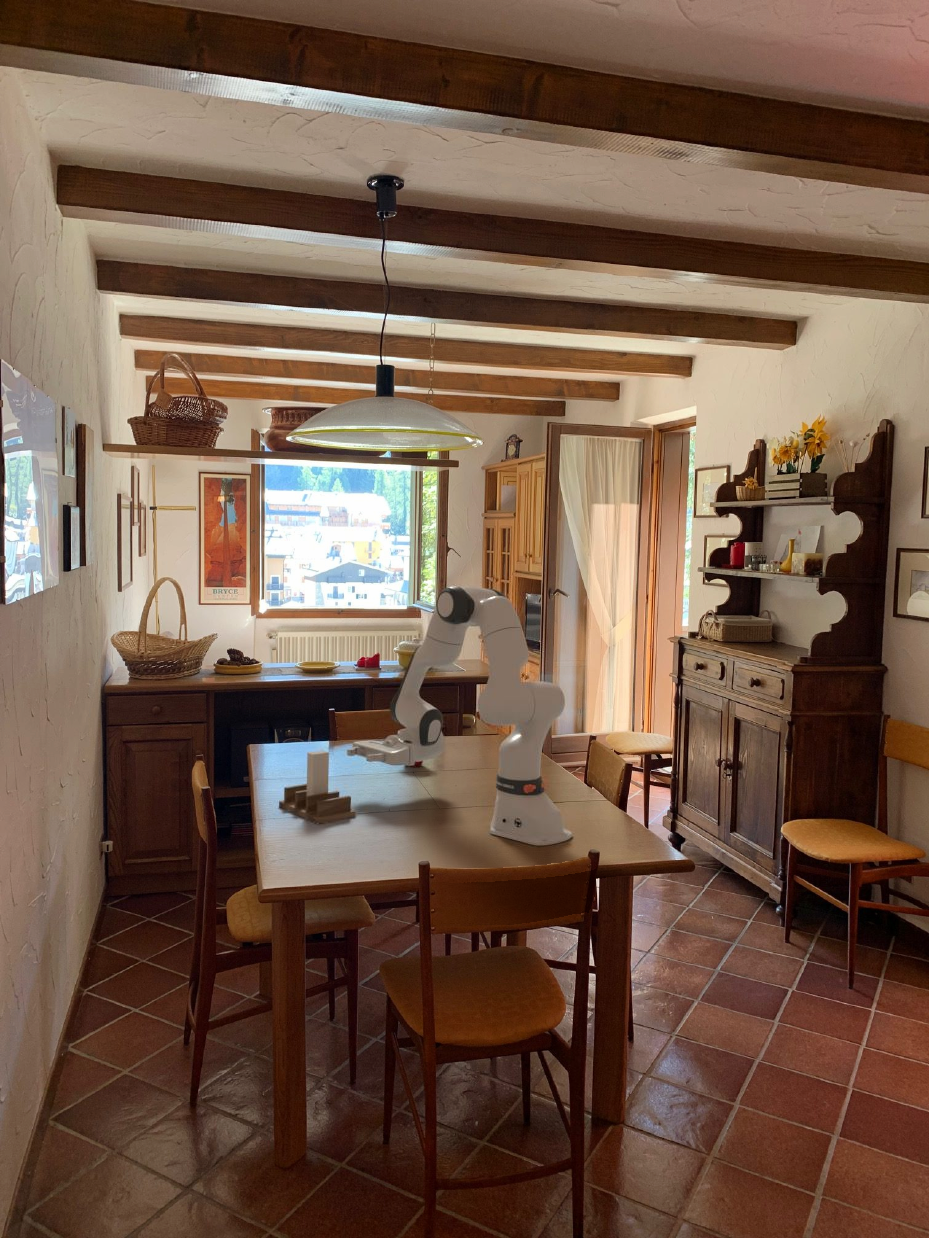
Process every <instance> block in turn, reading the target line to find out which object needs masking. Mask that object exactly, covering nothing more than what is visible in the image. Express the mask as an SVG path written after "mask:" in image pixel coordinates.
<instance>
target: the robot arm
mask: <svg viewBox="0 0 929 1238" xmlns="http://www.w3.org/2000/svg"><path fill="white" fill-rule="evenodd" d="M435 606H436V607H435V609H434V611H433V613H432V615H431V618H430V620H429V622H428V623H429V624H428V626H427V630H426V634H425V637H424V640H423V641H422V643H421V645H419V646H418V647H416V648H415V650H414V652H413V653H412V656H411V657H410V660H409V662H408V665H407V667H406V670H405V673H404V676H403V678H402V680H401V683H400V686H399V687H398V689H397V692H396V693H395V694H394V697H393V698H392V701H391V702H390V706H389V713H390V717H391V719H392V720H393V721H394V722H396V723H397V724H400V725H402V726H404V727H405V729H406V728H408V731H407V733H404V734H398V733H397V734H392V735H388V736H387V737H386V738H385V739H384V741H383V742H381V741H378V740H359V741H354V742H352V748H349V749H347V750H346V756H348V757H354V756H358V757H362V758H364V759H365V758H366V759H365V760H366V761H367V762H369V763H373V762H376V763H377V762H378V763H383V764H386V765H391V766H394V767H395V766H405V765H407V766H406V767H408V766H413V765H415V761H416V762H419V761H423V762H424V761H428V760H431V759H435V758H437V757H438V756H441V754H442V753H443V752H444V750H445V748H446V747H445V746H446V738H445V736H444V734H443V732H442V729H443V724H444V717H443V714H442V712H441V710H439V709H438V708H437V707H435V706H433V705H432V704H431V703H428V702H427V701H425V700H424V699H423V698H421V696H420V689H421V686H422V684H423V682H424V679H425V676H426V675H427V672H428V670H429V669H431V668H444V667H448V666H450V665H452V664H454V663H455V662H456V661H458V660H459V659H458V658H460V655H461V652H462V649H463V646H464V641H465V637H466V633H467V630H468V628H469V627H479V630H480V632H481V636H482V641H483V644H484V648H485V653H486V657H487V661H488V669H489V673H488V674H489V675H488V678H487V679H488V680H487V682H486V685H485V686H484V688H483V689H482V691H481V692H480V693H479V696H478V699H477V710H478V714H479V717H480V719H481V720H483V722H484V723H486V724H489V725H493V726H501V727H508V726H514V728H513V729H512V731H511V733H510V734H509V735H508V737H506V738H505V739H504V740H503V741H502V742H501V743H500V746H499V750H498V751H499V752H498V753H499V754H498V772H497V774H496V778H495V779H496V780H495V788H496V789H497V791H496V797H495V802H494V808H493V814H492V819H491V822H490V825H489V827H490V829H489V833H490V834H491V835H494V836H499V837H502V838H505V839H510V840H514V841H516V842H517V841H518V842H521V843H525V844H528V845H532V846H549V845H554V844H560V843H562V842H565V841H568V840H570V839H571V838H572V837H573V832H572V831H570V830H568V829H566V828H564V818H563V813H562V812H561V810H560V809H559V808H558V807H557V806H556V804H555V803H554V802H553V800H551V799H550V797H549V795H548V794H546V793H545V790H546V789H545V788H546V787H548V785H547V784H548V782H547V781H546V782H543V778H542V776H541V764H542V762H541V761H542V760H541V759H542V753H543V751H542V750H543V746H544V743H545V739H546V738H547V737H546V736H547V735H548V732H549V730H550V728H551V726H552V725H553V723H554V722H555V721H556V720H557V718H559V717H560V716H561V715H562V714H563V711H564V710H565V709H564V708H565V704H566V703H565V702H566V699H565V695H564V692H563V690H562V688H561V687H560V686H559V685H558V684H556V683H553V682H548V681H544V680H543V681H541V680H534V681H525V682H524V681H522V679H521V670H522V669H523V667H525V666H526V665H527V663H528V661H529V660H530V651H529V648H528V644H527V640H526V637H525V633H524V630H523V627H522V623H521V621H520V618H519V615H518V613H517V610H516V608H515V607H514V605H513V603H512V602H511V600H510V599H509V598H508V597H506V595H505V594H504V593H503V592H501V591H499V590H497V589H492V588H484V587H478V586H475V585H474V586H471V585H469V586H467V585H465V586H458V585H454V586H453V585H452V586H447V587H445V588H443V589H442V590H441V591H440V593H439V594H438V596H437V599H436V605H435Z"/></svg>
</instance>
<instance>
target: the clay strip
mask: <svg viewBox="0 0 929 1238" xmlns="http://www.w3.org/2000/svg"><path fill="white" fill-rule="evenodd" d="M329 762H330V752H329V751H326V750H324V749H323V750H315V751H309V752H307V757H306V768H307V769H306V784H307V796H311V795H317V794H323V793H328V792H329V773H330V772H329V768H330V766H329V765H330V763H329Z"/></svg>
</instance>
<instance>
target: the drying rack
mask: <svg viewBox="0 0 929 1238" xmlns="http://www.w3.org/2000/svg"><path fill="white" fill-rule="evenodd" d="M283 787H284V786H283ZM283 791H284V795H283V796H284V797H283V800H279V801H278V807H279V808H281V809H284V810H286V811H287V812H290V813H292V814H294V815H296V816H299V817H301V818H303V817H304V818H303V819H305V818H306V819H305V820H307V819H308V821H310V822H312V823H314V822H315V823H314V824H316V823H322V824H325V822H327V823H331V822H335V820H336V821H340V820H341V821H342V820H345V819H344V818H346V819H349V818H350V817H351V818H355V816H357V810H354V809H352V807H351V806H352V805H351V804H352V796H351V795H344V796H340V791H338V790H336V791H335V790H334V791H330V792H329V791H328V793H323V794H317V795H311V796H307V783H302V784H298V785H292V786H291V785H290V786H285V787H284V790H283Z"/></svg>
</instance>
